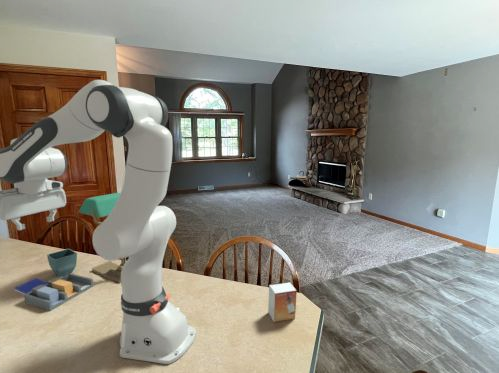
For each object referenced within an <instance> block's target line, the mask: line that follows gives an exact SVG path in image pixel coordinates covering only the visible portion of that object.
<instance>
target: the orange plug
mask: <svg viewBox="0 0 499 373" xmlns="http://www.w3.org/2000/svg"><path fill="white" fill-rule="evenodd" d="M58 278H59V277H54V278H51V279H50V280H48V281H47V284H48V287H50V288H53V289H57V290H58V291H61V292H65V293H67V295H69V294H71V293H72V292H73V286H72V282H69V281H65V280H61V279H58Z"/></svg>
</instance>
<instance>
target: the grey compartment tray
mask: <svg viewBox="0 0 499 373" xmlns="http://www.w3.org/2000/svg"><path fill="white" fill-rule="evenodd" d="M57 278H58V279H61V280H65V281H69V282H72V286H73V292H72V293H71V294H69V295H67V293H65V292H61V291H58V296H59V300H58V301H56V302H54V303H52V301H49V300H46V299H43V298H39V297H36V296H33V293H32V291H31V292H29V293H27V294H25V295H24V294H23V295H24V303H25V304H27V305H30V306H34V307H36V308H40V309H43V310H46V311H49V312H52V310H55V309H56V308H58V307H60V306H61V305H63V304H64V303H65V304H66V303H67V302H69V301H70V300H72V299H74V298H75V297H77V296H79V295H80V294H82V293H85V291H87V290H89V289H91V288H93V287H94V279H93V278H92V277H91V278H90V277H87V276H82V275H79V274H74V273H72V272H71V273H68V274H65V275H62V276H59V277H57ZM44 286H47V287H48V284H46V285H44Z"/></svg>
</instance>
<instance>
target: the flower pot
mask: <svg viewBox="0 0 499 373" xmlns="http://www.w3.org/2000/svg"><path fill="white" fill-rule="evenodd" d="M46 257H47V262H48V264H49V267H50V269H51V270H52V272H54V274H56V275H57V276H58V277H63V276H65V275H67V274H69V273H71V274H72V273H73V272H74V270H75V269H76V266H77V263H78V262H77V260H78V253H77V251H74V250H73V249H70V248H66V249H63V250H60V251H55V252H52V253H48V254H46Z"/></svg>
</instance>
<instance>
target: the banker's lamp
mask: <svg viewBox="0 0 499 373" xmlns="http://www.w3.org/2000/svg"><path fill="white" fill-rule="evenodd" d="M120 194H121V192H114V193H110V194H108V193H107V194H104V195H97V196H92V197H88V198H85V199H84V201H83V203H82V204H81V207H80V208H79V210H78V213H79V214H82V215H87V216H91V217H92V219H93V222H94V223H95V225H100V224H101V223H102V222H103V221H98V218H104V217H108V215H109V214H110V213H111V211H112V209H113V208H114V206H115V204H116V202H117V200H118V198H119V196H120ZM126 258H127V257H125V258H121V259H120V264H116V263H115V262H112V261H108V260H107V261H106V262H103V263H100V264H98V265H96V266H93V267H92V272H93V273H95V274H97V275H100V276H102V277H105V278H106V279H109V280H111V281H114V282H115V283H118V284H122V283H121V271H122V268H123V266H124V264H125V263H126V262H127V259H126Z"/></svg>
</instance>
